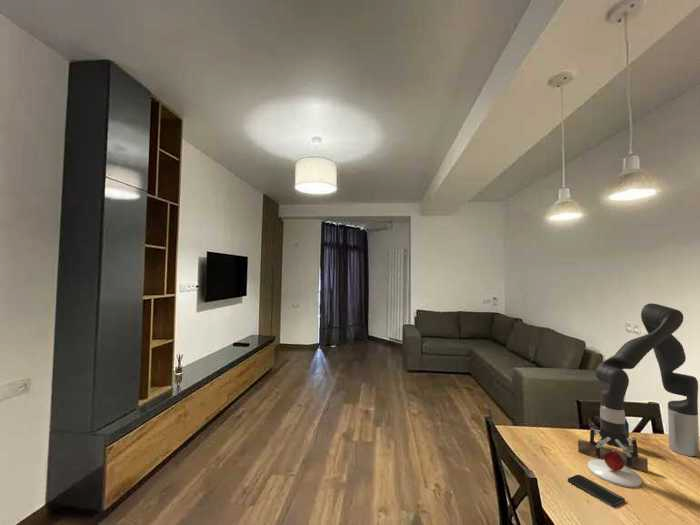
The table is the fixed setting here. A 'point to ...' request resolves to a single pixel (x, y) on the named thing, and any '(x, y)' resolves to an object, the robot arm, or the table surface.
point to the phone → (596, 491)
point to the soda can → (626, 431)
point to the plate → (614, 474)
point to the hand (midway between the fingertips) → (613, 461)
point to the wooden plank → (637, 462)
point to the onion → (614, 461)
